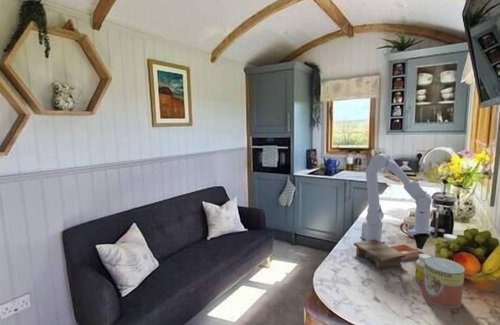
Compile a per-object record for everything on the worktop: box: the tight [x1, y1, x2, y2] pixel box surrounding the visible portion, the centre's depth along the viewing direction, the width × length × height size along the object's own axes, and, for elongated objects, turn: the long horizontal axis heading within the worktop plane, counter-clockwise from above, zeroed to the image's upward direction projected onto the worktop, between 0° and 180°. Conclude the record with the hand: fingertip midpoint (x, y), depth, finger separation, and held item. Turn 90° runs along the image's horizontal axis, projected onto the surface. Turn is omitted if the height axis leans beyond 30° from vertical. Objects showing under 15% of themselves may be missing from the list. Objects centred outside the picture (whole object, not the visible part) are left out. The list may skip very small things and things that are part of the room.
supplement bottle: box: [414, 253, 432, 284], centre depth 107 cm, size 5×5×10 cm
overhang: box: [353, 239, 405, 270], centre depth 123 cm, size 17×12×5 cm
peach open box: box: [388, 243, 421, 261], centre depth 128 cm, size 8×10×3 cm
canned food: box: [421, 256, 466, 309], centre depth 96 cm, size 11×11×12 cm
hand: (419, 248), depth 132 cm, fingers closed
